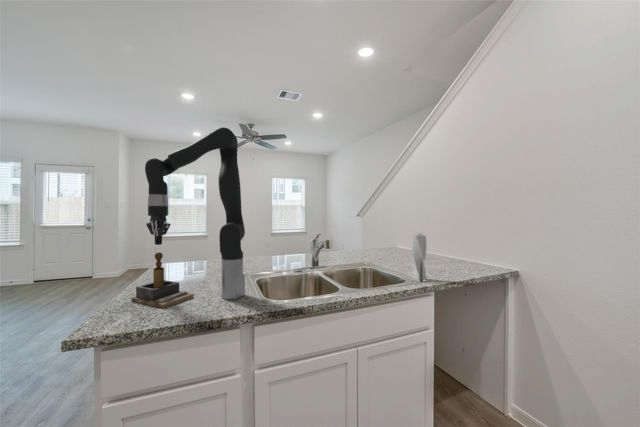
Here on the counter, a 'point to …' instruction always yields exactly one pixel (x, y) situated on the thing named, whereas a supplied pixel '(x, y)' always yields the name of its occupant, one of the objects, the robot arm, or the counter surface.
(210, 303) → the counter surface
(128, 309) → the counter surface
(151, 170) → the robot arm
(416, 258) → the skyscraper
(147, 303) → the socket board
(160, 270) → the brown wooden chess pawn
